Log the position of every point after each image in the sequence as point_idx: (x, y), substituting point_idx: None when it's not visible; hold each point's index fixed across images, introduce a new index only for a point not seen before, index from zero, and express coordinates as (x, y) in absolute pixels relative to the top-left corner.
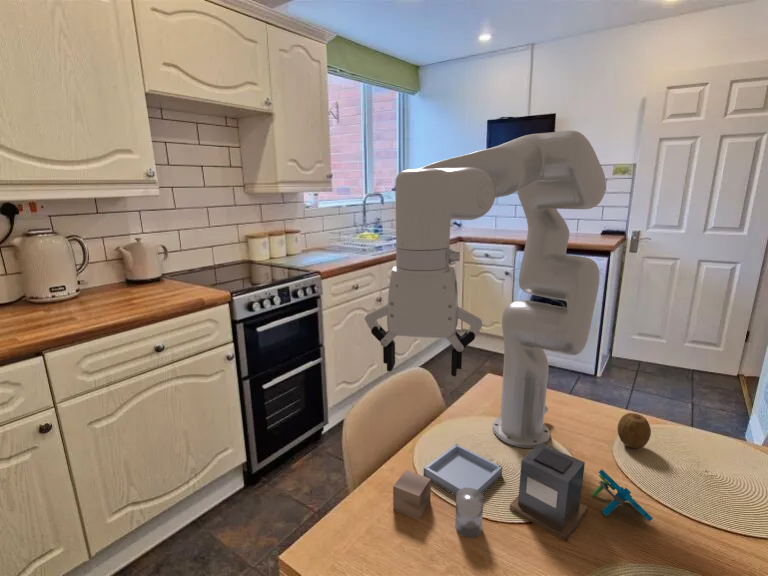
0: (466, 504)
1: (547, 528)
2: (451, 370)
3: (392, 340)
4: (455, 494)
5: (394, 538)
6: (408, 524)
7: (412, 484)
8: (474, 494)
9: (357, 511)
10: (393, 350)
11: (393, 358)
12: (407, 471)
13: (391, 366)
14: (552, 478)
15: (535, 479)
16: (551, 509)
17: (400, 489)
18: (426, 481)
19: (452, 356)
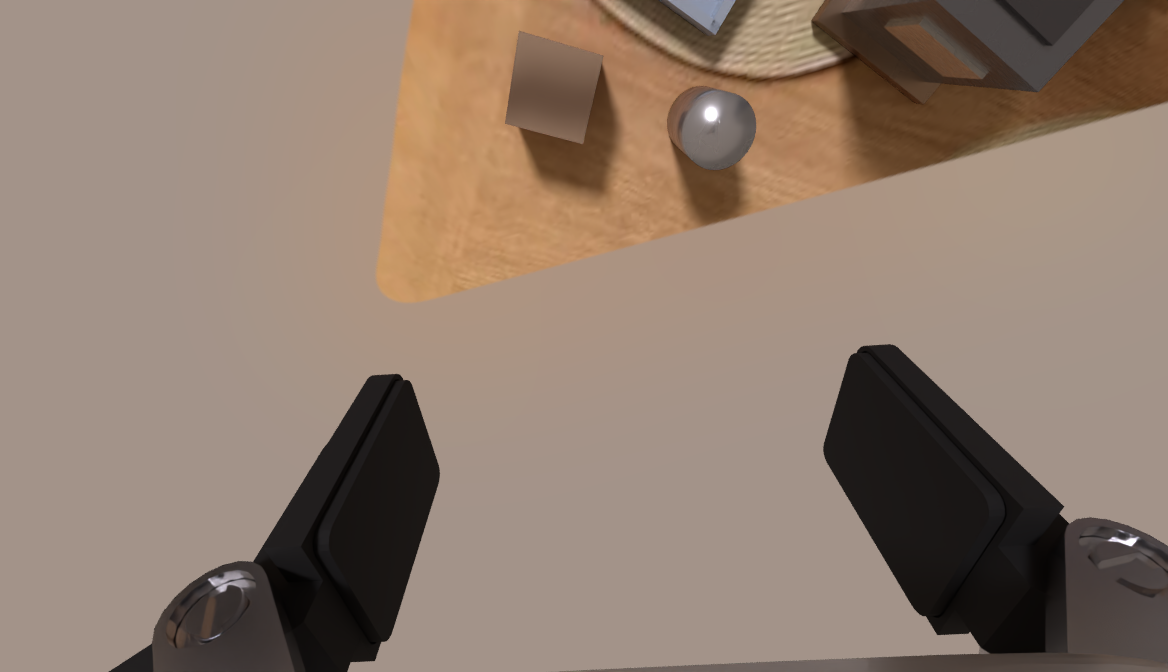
0: (709, 164)
1: (888, 78)
2: (840, 484)
3: (318, 612)
4: (666, 4)
5: (542, 198)
6: (561, 151)
7: (555, 101)
8: (733, 118)
9: (433, 145)
10: (379, 531)
11: (405, 476)
12: (525, 39)
13: (431, 501)
14: (997, 65)
15: (939, 35)
16: (928, 64)
17: (528, 129)
18: (592, 73)
19: (906, 586)
